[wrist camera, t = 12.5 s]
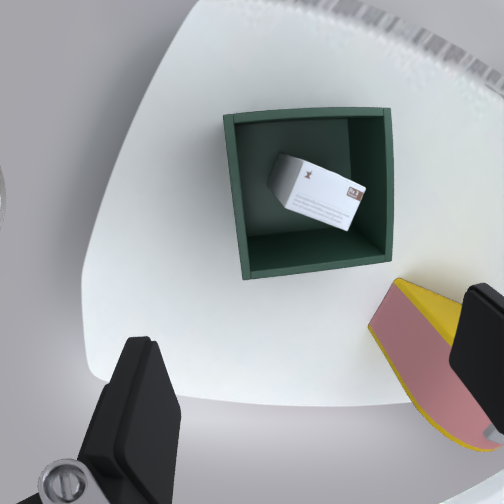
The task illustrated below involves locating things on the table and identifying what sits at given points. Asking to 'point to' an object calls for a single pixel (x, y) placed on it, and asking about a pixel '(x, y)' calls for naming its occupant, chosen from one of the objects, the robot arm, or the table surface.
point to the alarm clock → (430, 363)
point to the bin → (323, 155)
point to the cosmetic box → (315, 191)
